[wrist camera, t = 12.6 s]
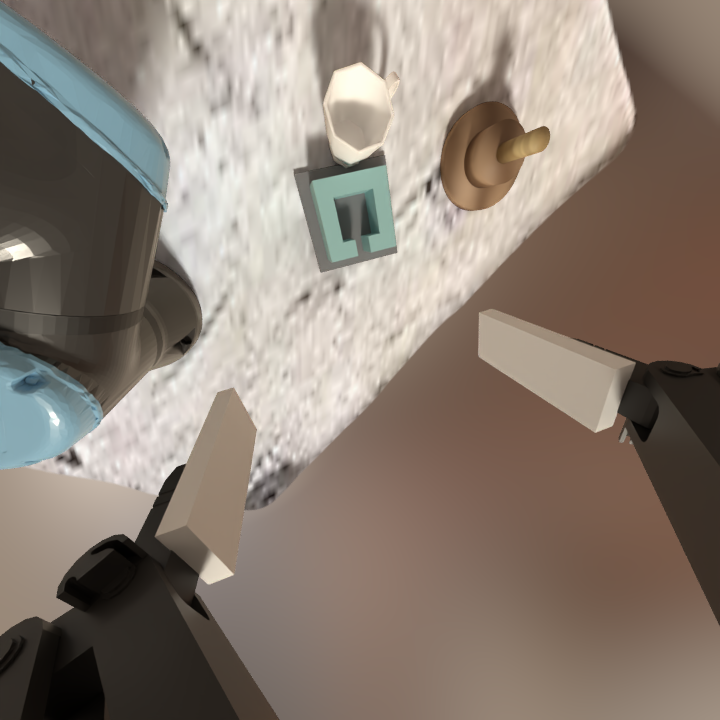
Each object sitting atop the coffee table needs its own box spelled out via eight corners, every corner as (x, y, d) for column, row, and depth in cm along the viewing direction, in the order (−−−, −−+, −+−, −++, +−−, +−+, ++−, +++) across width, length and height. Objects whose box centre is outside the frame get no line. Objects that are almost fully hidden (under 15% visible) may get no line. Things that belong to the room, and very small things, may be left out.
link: (309, 186, 33) (312, 180, 29) (375, 171, 34) (385, 164, 30) (328, 259, 37) (332, 262, 34) (386, 244, 38) (396, 246, 35)
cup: (305, 141, 31) (307, 100, 24) (364, 77, 30) (385, 13, 23) (345, 193, 34) (358, 170, 26) (401, 135, 33) (430, 94, 25)
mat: (320, 272, 38) (320, 272, 38) (294, 174, 32) (294, 174, 32) (396, 252, 39) (397, 252, 39) (383, 155, 34) (384, 155, 33)
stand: (442, 218, 39) (489, 214, 30) (437, 115, 33) (494, 70, 24) (511, 201, 40) (576, 192, 31) (518, 99, 35) (601, 51, 26)
